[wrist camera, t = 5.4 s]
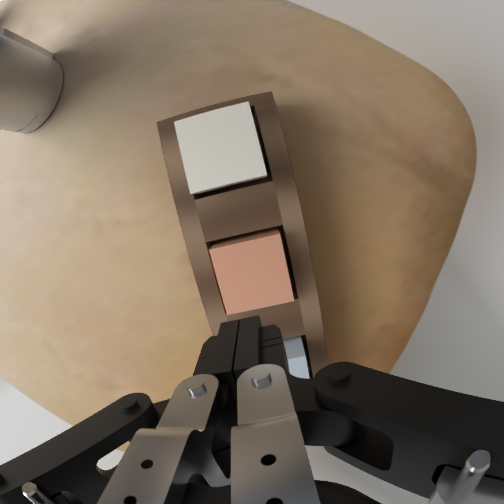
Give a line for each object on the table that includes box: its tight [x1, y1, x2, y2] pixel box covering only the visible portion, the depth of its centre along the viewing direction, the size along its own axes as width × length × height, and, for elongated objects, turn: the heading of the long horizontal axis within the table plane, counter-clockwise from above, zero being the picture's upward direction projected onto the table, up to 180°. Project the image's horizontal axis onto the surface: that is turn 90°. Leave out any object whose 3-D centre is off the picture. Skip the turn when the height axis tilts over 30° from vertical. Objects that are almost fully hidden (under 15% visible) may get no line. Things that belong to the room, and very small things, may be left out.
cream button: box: [174, 101, 267, 194], centre depth 19 cm, size 5×5×4 cm
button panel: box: [157, 91, 329, 378], centre depth 24 cm, size 25×9×4 cm, turn 13°
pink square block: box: [209, 227, 294, 315], centre depth 22 cm, size 5×5×4 cm
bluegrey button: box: [283, 336, 309, 378], centre depth 23 cm, size 5×5×4 cm
